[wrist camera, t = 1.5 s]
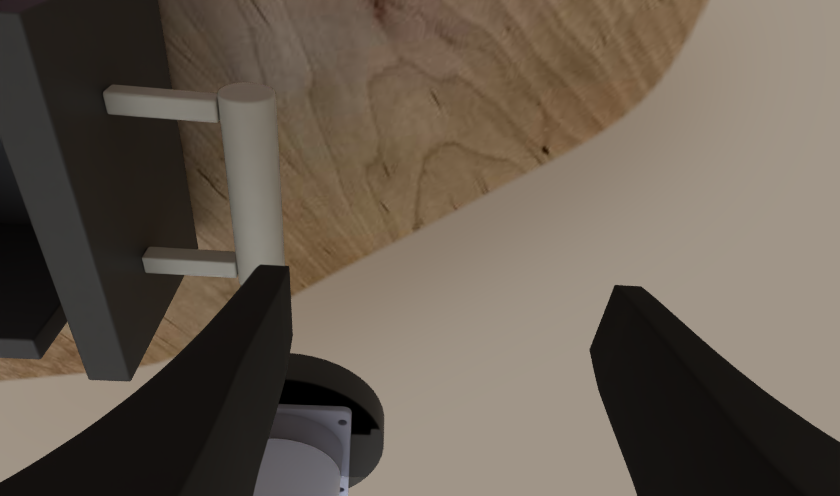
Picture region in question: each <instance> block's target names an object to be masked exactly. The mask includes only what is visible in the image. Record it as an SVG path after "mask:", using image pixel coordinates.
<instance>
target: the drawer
mask: <svg viewBox="0 0 840 496" xmlns="http://www.w3.org/2000/svg"><path fill="white" fill-rule="evenodd" d="M177 120H187V121H200V122H212V123H217V122H218V121H219V120H220V122H221V131H222V140H223V148H224V157H225V165H226V174H227V183H228V191H229V200H230V208H231V217H232V226H233V234H234V243H235V252H230V251H214V250H198V244H197V238H196V232H195V226H194V219H193V213H192V207H191V201H190V195H189V189H188V183H187V177H186V171H185V165H184V158H183V152H182V146H181V140H180V134H179V128H178V122H177ZM260 264H263V265H280V266H285V257H284V238H283V219H282V200H281V182H280V163H279V144H278V125H277V106H276V93H275V91H274V90H273V89H272V88H271V87H269V86H266V85H263V84H258V83H248V82H243V83H234V84H229V85H226V86H223V87H221V88H220V89H219V90H218V93H209V92H197V91H185V90H173V89H172V85H171V79H170V73H169V67H168V61H167V55H166V49H165V42H164V36H163V30H162V24H161V18H160V12H159V6H158V0H0V358H19V359H41V358H42V357H43V355H44V354H45V352H46V351H47V350H48V348H49V347H50V345H51V344H52V342H53V341H54V340H55V338H56V337H57V335H58V334H59V333H60V331H61V330H62V328H63V327H64V325H65V324H66V323H67V321H68V324H69V327H70V330H71V332H72V335H73V338H74V340H75V343H76V346H77V349H78V351H79V354H80V357H81V360H82V362H83V365H84V368H85V370H86V373H87V376H88V378H89V379H90V380H108V381H131V380H132V378H133V376H134V374H135V372H136V370H137V368H138V366H139V364H140V362H141V360H142V358H143V356H144V354H145V352H146V350H147V348H148V346H149V344H150V342H151V340H152V338H153V336H154V334H155V332H156V330H157V328H158V326H159V324H160V322H161V320H162V319H163V317H164V315H165V313H166V311H167V309H168V307H169V305H170V303H171V301H172V299H173V297H174V295H175V293H176V291H177V289H178V287H179V285H180V283H181V281H182V279H183V277H184V275H194V276H211V277H228V278H236V277H237V275H238V277H239V283H240V284H241V286H242V285H243V283H244V282H245V281H246V280H247V278H248V277H249V276H250V275H251V273H252V272H253V271H254V269H255V268H256V267H258V266H259V265H260Z"/></svg>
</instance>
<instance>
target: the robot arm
mask: <svg viewBox="0 0 840 496" xmlns="http://www.w3.org/2000/svg"><path fill="white" fill-rule="evenodd" d="M292 336H293V333H292V313H291V292H290V272H289V266H280V265H263V264H260V265H259V266H258V267H256V268H255V269H254V271H253V272H252V273H251V275H250V276H249V277H248V278H247V280H246V281H245V282H244V283H243V285H242V286H241V287H240V288H239V290H238V291H237V292H236V293H235V294H234V295H233V297H232V298H231V299H230V300H229V301H228V303H227V304H226V305H225V306H224V307H223V308H222V309H221V310H220V312H219V313H218V314H217V315H216V316H215V317H214V318H213V319H212V320H211V321H210V323H209V324H208V325H207V326H206V327H205V328H204V329H203V330H202V331H201V332H200V333H199V334H198V335H197V336H196V337H195V338H194V339H193V340H192V341H191V342H190V343H189V344H188V345H187V346H186V347H185V348H184V349H183V350H182V351H181V352H180V353H179V354H178V355H177V356H176V357H175V358H174V359H173V360H172V361H171V362H169V363H168V364H167V365H166V366H165V367H164V368H163V369H162V370H161V371H160V372H158V373H157V374H156V375H155V376H154V377H153V378H151V379H150V380H149V381H148V382H147V383H145V384H144V385H143V386H142V387H141V388H139V389H138V390H137V391H136V392H135V393H133V394H132V395H131V396H130V397H128V398H127V399H126V400H125V401H123V402H122V403H121V404H119V405H118V406H117V407H115V408H114V409H113V410H111V411H110V412H109V413H107V414H106V415H105V416H103V417H102V418H101V419H99V420H98V421H97V422H95V423H94V424H92V425H91V426H90V427H88V428H87V429H85V430H84V431H82V432H81V433H80V434H78V435H77V436H75V437H74V438H72V439H70V440H69V441H67V442H66V443H64V444H63V445H61V446H60V447H58V448H56V449H55V450H53V451H52V452H50V453H49V454H47V455H46V456H44V457H43V458H41V459H39V460H38V461H36V462H34V463H33V464H31V465H30V466H28V467H26V468H25V469H23V470H21V471H20V472H18V473H16V474H14V475H13V476H11V477H9V478H8V479H6V480H4V481H2V482H0V496H348V485H349V463H350V440H351V417H352V412H351V410H350V409H349V408H348V407H344V406H321V405H296V404H278V403H279V400H280V396H281V393H282V389H283V386H284V382H285V378H286V373H287V367H288V361H289V355H290V349H291V343H292ZM590 354H591V359H592V364H593V368H594V373H595V377H596V381H597V386H598V390H599V393H600V396H601V398H602V401H603V404H604V406H605V409H606V412H607V415H608V418H609V420H610V423H611V425H612V428H613V431H614V433H615V436H616V439H617V441H618V444H619V447H620V449H621V452H622V455H623V457H624V460H625V462H626V465H627V468H628V470H629V473H630V476H631V478H632V481H633V484H634V487H635V490H636V493H637V496H840V442H839V441H837V440H835V439H834V438H832V437H830V436H829V435H827V434H826V433H824V432H823V431H821V430H820V429H818V428H817V427H815V426H813V425H812V424H811V423H809V422H808V421H806V420H805V419H803V418H802V417H800V416H799V415H797V414H796V413H795V412H793V411H792V410H790V409H789V408H788V407H786V406H785V405H783V404H782V403H780V402H779V401H778V400H776V399H775V398H773V397H772V396H771V395H769V394H768V393H767V392H765V391H764V390H763V389H761V388H760V387H759V386H758V385H756V384H755V383H754V382H752V381H751V380H750V379H749V378H747V377H746V376H745V375H744V374H742V373H741V372H740V371H739V370H737V369H736V368H735V367H733V366H732V365H731V364H730V363H729V362H728V361H726V360H725V359H724V358H723V357H722V356H720V355H719V354H718V353H717V352H716V351H715V350H713V349H712V348H711V347H710V346H709V345H708V344H706V343H705V342H704V341H703V340H702V339H701V338H700V337H699V336H697V335H696V334H695V333H694V332H693V331H692V330H691V329H689V328H688V327H687V326H686V325H685V324H684V323H683V322H682V321H680V320H679V319H678V318H677V317H676V316H675V315H673V313H672V312H670V311H669V310H668V309H667V308H666V307H665V306H664V305H663V304H661V303H660V302H659V301H658V300H657V299H656V298H654V297H653V296H652V295H651V294H650V293H649V292H647V291H646V290H645V289H644V288H642V287H639V286H623V285H615V286H614V289H613V291H612V294H611V296H610V299H609V302H608V304H607V306H606V309H605V311H604V314H603V317H602V319H601V322H600V324H599V327H598V330H597V332H596V335H595V337H594V340H593V342H592V345H591V348H590Z"/></svg>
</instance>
